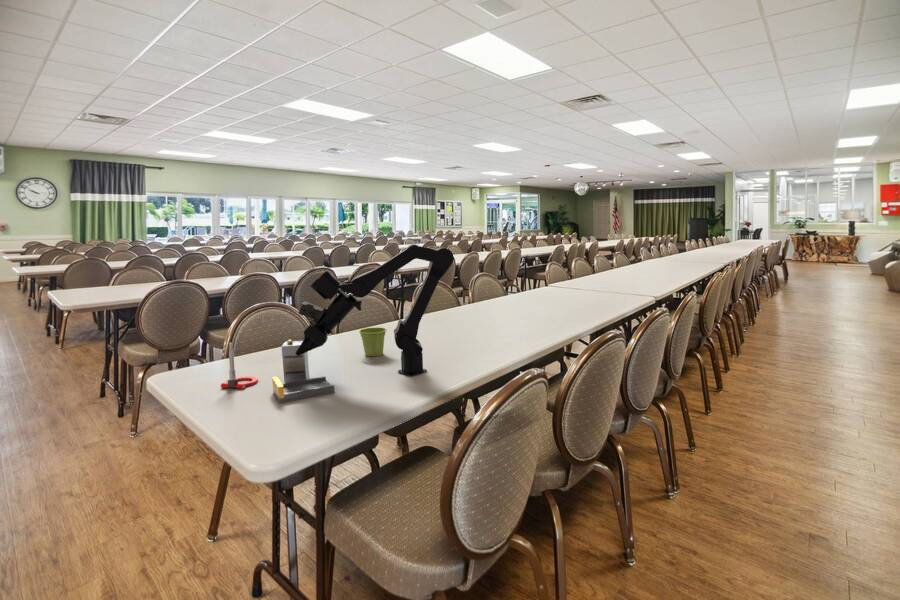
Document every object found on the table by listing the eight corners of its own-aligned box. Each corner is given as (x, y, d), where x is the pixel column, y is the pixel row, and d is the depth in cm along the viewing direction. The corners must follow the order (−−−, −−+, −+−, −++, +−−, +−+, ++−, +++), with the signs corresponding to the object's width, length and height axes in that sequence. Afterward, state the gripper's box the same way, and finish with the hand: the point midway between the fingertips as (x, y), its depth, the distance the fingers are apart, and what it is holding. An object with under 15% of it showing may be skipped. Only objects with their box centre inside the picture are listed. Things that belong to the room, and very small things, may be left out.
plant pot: (355, 354, 162) (353, 330, 161) (377, 349, 169) (376, 326, 167) (369, 359, 156) (368, 334, 154) (393, 354, 162) (392, 329, 160)
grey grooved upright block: (309, 376, 139) (306, 337, 137) (306, 382, 133) (303, 341, 132) (288, 378, 138) (285, 338, 136) (284, 384, 133) (281, 342, 131)
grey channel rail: (325, 382, 133) (324, 368, 132) (334, 392, 125) (333, 377, 124) (273, 392, 126) (272, 377, 125) (279, 403, 118) (278, 387, 117)
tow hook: (237, 379, 139) (217, 389, 130) (235, 337, 138) (214, 343, 128) (263, 380, 138) (245, 390, 128) (261, 337, 136) (243, 343, 127)
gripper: (319, 288, 142) (283, 325, 142) (310, 296, 124) (269, 339, 124) (347, 312, 144) (312, 349, 144) (342, 324, 126) (302, 366, 126)
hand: (299, 350), depth 135 cm, fingers open, 9 cm apart
